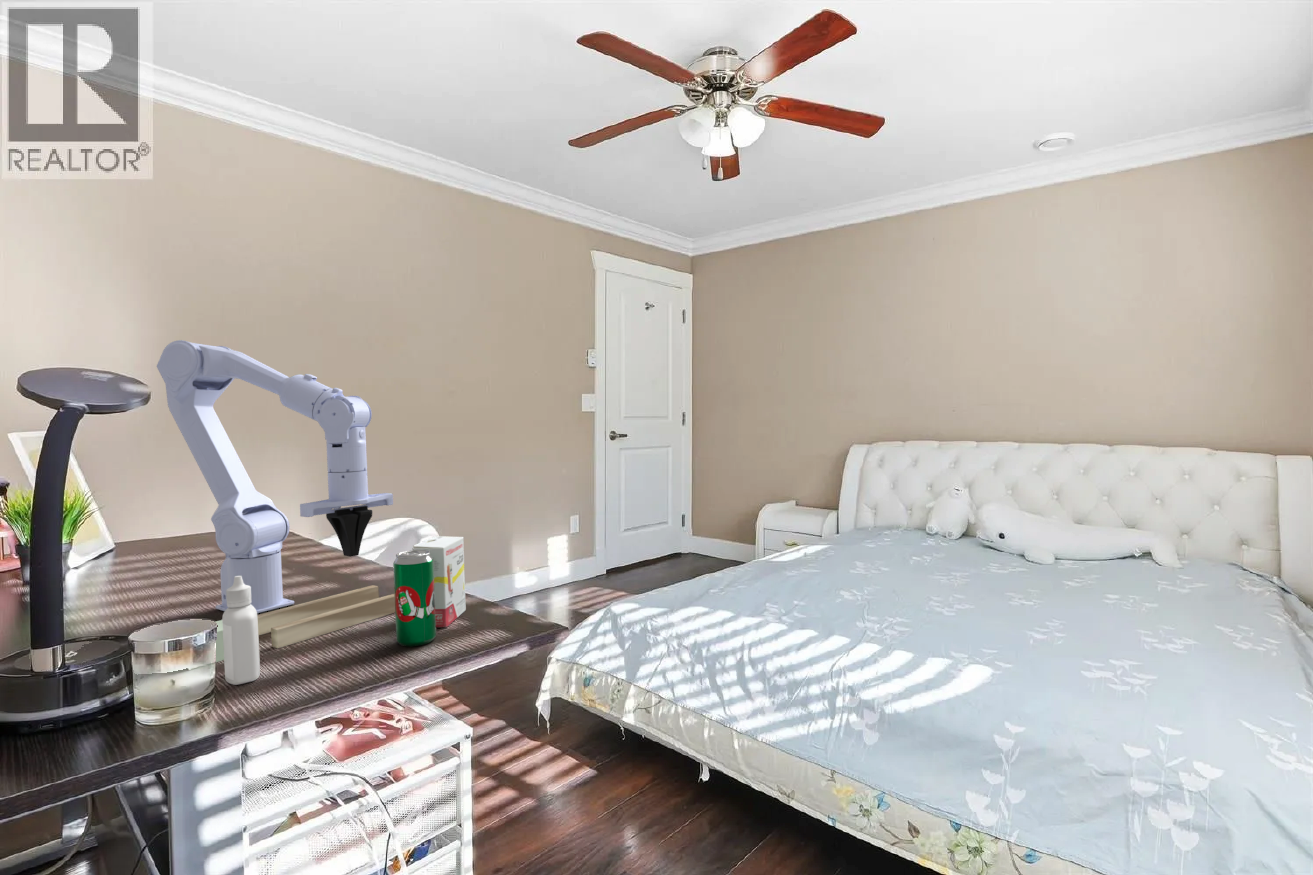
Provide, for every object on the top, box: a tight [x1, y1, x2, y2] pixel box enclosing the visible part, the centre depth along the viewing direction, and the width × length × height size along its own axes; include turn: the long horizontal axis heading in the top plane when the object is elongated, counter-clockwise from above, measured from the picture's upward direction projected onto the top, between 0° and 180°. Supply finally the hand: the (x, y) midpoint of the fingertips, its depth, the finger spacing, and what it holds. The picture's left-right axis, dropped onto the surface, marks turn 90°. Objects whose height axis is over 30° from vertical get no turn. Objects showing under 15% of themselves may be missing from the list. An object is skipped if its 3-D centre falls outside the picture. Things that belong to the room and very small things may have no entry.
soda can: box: [392, 549, 437, 648], centre depth 86 cm, size 5×5×12 cm
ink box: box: [411, 535, 467, 628], centre depth 95 cm, size 9×5×12 cm, turn 177°
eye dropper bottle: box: [221, 576, 261, 686], centre depth 75 cm, size 4×6×12 cm
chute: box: [257, 584, 395, 649], centre depth 95 cm, size 10×20×2 cm, turn 147°
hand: (351, 555), depth 102 cm, fingers closed
